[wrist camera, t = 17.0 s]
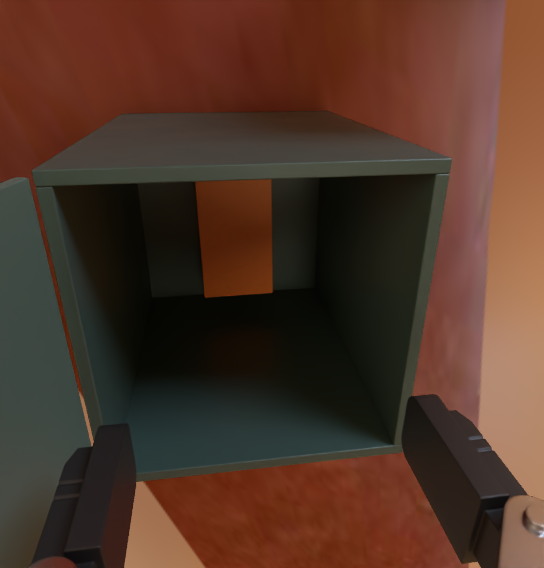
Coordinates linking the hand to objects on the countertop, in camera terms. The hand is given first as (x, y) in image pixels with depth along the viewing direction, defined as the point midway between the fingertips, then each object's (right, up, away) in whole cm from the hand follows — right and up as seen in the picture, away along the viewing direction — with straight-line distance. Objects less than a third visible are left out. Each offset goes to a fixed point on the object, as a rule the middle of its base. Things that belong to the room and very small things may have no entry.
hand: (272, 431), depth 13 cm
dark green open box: (-3, +9, +19) cm, 21 cm away
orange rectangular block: (-3, +9, +18) cm, 20 cm away
